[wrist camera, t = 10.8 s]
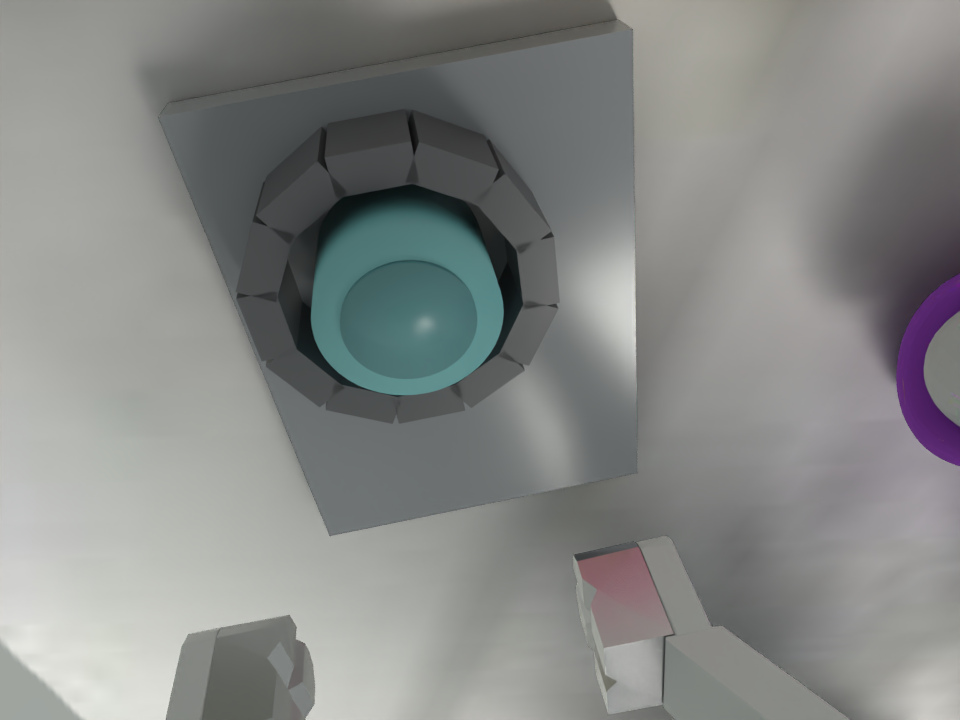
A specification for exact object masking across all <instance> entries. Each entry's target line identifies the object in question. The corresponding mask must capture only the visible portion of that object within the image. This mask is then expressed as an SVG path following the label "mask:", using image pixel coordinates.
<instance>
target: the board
mask: <svg viewBox="0 0 960 720" xmlns="http://www.w3.org/2000/svg"><path fill="white" fill-rule="evenodd" d="M401 109H405V111H406V116H407V121H409V118H410V115H411V112H412V109H413V110H415V111H418V112H421V113H424V114H427V115H429V116H432V117H435V118H438V119H440V120H443V121H446V122H449V123H452V124H454V125H457V126H460V127H463V128H466V129H468V130H471V131H474V132H477V133H479V134H482V135H484V137H485V139H486V141H488V140H489V139H490V140H491V142H492V143H493V144H494V145H495V147H496V148H497V149H498V150H499V152H500V153H501V154H502V155H503V157H504V158H505V159H506V160H507V162H508V163H509V164H510V165H511V167H512V168H513V169H514V170H515V172H516V173H517V174H518V175H519V177H520V178H521V179H522V180H523V182H524V183H525V184H526V185H527V186H528V188H529V189H530V190H531V191H532V193H533V195H534V197H535V199H536V201H537V203H538V205H539V207H540V209H541V211H542V213H543V215H544V217H545V219H546V221H547V222H548V224H549V226H550V228H551V230H552V231H551V232H552V234H553V236H554V240H555V252H556V263H557V275H558V286H559V298H560V303H556V304H557V306H558V308H559V309H558V311H557V313H556V315H555V317H554V319H553V321H552V323H551V325H550V326H549V328H548V330H547V332H546V334H545V336H544V338H543V340H542V342H541V344H540V346H539V348H538V350H537V351H536V353H535V355H534V357H533V359H532V361H531V363H530V365H529V366H528V365H524V364H523V366H524V369H525V371H523V372H522V373H520V374H519V375H518V376H516V377H515V378H513V379H512V380H511V381H509V382H508V383H506V384H505V385H503V386H502V387H501V388H499V389H498V390H496V391H495V392H493V393H492V394H491V395H489V396H488V397H486V398H485V399H484V400H482V401H481V402H479V403H478V404H476V405H475V406H474V407H472V408H470V407H469V406H468V405H467V404H466V403H465V402H464V406H465V411H461V412H456V413H451V414H446V415H441V416H436V417H431V418H426V419H421V420H416V421H411V422H406V423H401V424H399V422H398V419H397V415H396V417H395V419H394V422H393V424H390V423H385V422H381V421H376V420H371V419H366V418H361V417H357V416H352V415H347V414H342V413H337V412H332V411H328V410H326V403H325V404H323V405H322V406H321V407H318V406H317V405H316V404H314V403H313V402H312V401H310V400H309V399H308V398H306V397H305V396H304V395H302V394H301V393H300V392H299V391H297V390H296V389H295V388H293V387H292V386H291V385H289V384H288V383H287V382H285V381H284V380H283V379H281V378H280V377H279V376H277V375H276V374H275V373H273V372H272V371H271V370H269V369H268V368H267V367H266V361H261V359H260V356H259V354H258V351H257V349H256V347H255V344H254V342H253V339H252V337H251V334H250V332H249V329H248V327H247V324H246V322H245V319H244V317H243V315H242V312H241V310H240V307H239V305H238V302H237V300H236V297H237V292H236V288H237V284H238V280H239V275H240V271H241V267H242V263H243V259H244V254H245V250H246V246H247V242H248V238H249V234H250V229H251V225H252V221H253V217H254V214H255V210H256V207H257V203H258V199H259V196H260V192H261V189H262V185H263V182H265V181H266V177H267V175H268V174H270V173H271V172H272V171H273V170H274V169H275V168H276V167H277V166H278V165H279V164H281V163H282V162H283V161H284V160H285V159H286V158H287V157H288V156H289V155H291V154H292V153H293V152H294V151H295V150H296V149H297V148H298V147H299V146H300V145H302V144H303V143H304V142H305V141H306V140H307V139H308V138H309V137H310V136H311V135H313V134H314V133H315V132H316V131H317V130H318V129H319V128H320V127H322V128H323V129H324V130H325V131H326V132H327V128H328V123H332V122H337V121H343V120H348V119H353V118H359V117H364V116H369V115H375V114H380V113H385V112H391V111H396V110H401ZM158 118H159V121H160V123H161V126H162V128H163V130H164V133H165V135H166V138H167V140H168V143H169V145H170V148H171V150H172V152H173V155H174V157H175V160H176V162H177V165H178V167H179V170H180V172H181V174H182V177H183V179H184V182H185V184H186V187H187V189H188V191H189V194H190V196H191V199H192V201H193V204H194V206H195V209H196V211H197V213H198V216H199V218H200V221H201V223H202V226H203V228H204V231H205V233H206V235H207V238H208V240H209V243H210V245H211V248H212V250H213V253H214V255H215V257H216V260H217V262H218V265H219V267H220V270H221V272H222V274H223V277H224V279H225V282H226V284H227V287H228V289H229V292H230V294H231V296H232V299H233V301H234V304H235V306H236V309H237V311H238V314H239V316H240V318H241V321H242V323H243V326H244V328H245V331H246V333H247V335H248V338H249V340H250V343H251V345H252V348H253V350H254V353H255V355H256V357H257V360H258V362H259V365H260V367H261V370H262V372H263V375H264V377H265V379H266V382H267V384H268V387H269V389H270V392H271V394H272V396H273V399H274V401H275V404H276V406H277V409H278V411H279V414H280V416H281V418H282V421H283V423H284V426H285V428H286V431H287V433H288V436H289V438H290V440H291V443H292V445H293V448H294V450H295V453H296V455H297V458H298V460H299V462H300V465H301V467H302V470H303V472H304V475H305V477H306V479H307V482H308V484H309V487H310V489H311V492H312V494H313V497H314V499H315V501H316V504H317V506H318V509H319V511H320V514H321V516H322V519H323V521H324V523H325V526H326V528H327V531H328V533H329V536H332V535H337V534H342V533H347V532H352V531H357V530H362V529H367V528H371V527H376V526H381V525H386V524H391V523H396V522H401V521H406V520H411V519H415V518H420V517H425V516H430V515H435V514H440V513H445V512H450V511H455V510H459V509H464V508H469V507H474V506H479V505H484V504H489V503H494V502H499V501H503V500H508V499H513V498H518V497H523V496H528V495H533V494H538V493H543V492H547V491H552V490H557V489H562V488H567V487H572V486H577V485H582V484H587V483H591V482H596V481H601V480H606V479H611V478H616V477H621V476H626V475H631V474H635V473H638V470H637V380H636V291H635V201H634V112H633V29H632V28H630V27H629V26H627V25H626V24H624V23H623V22H621V21H620V20H614V21H609V22H603V23H598V24H592V25H587V26H582V27H576V28H571V29H565V30H560V31H555V32H549V33H544V34H538V35H533V36H528V37H522V38H517V39H511V40H506V41H500V42H495V43H490V44H484V45H479V46H473V47H468V48H463V49H457V50H452V51H446V52H441V53H436V54H430V55H425V56H419V57H414V58H409V59H403V60H398V61H392V62H387V63H382V64H376V65H371V66H365V67H360V68H355V69H349V70H344V71H338V72H333V73H328V74H322V75H317V76H311V77H306V78H301V79H295V80H290V81H284V82H279V83H274V84H268V85H263V86H257V87H252V88H246V89H241V90H236V91H230V92H225V93H219V94H214V95H209V96H203V97H198V98H192V99H187V100H182V101H176V102H171V103H168V104H167V105H166V107H165V108H164V110H163V111H162V112H161V114H160V115H159V116H158ZM463 201H464V200H463ZM464 202H465V203H466V204H467V205H468V207H469V208H470V209H471V211H472V212H473V214H474V216H475V217H476V219H477V221H478V224H479V226H480V229H481V232H482V235H483V238H484V241H485V244H486V247H487V251H488V254H489V257H490V260H491V263H492V266H493V269H494V272H495V275H496V278H497V282H498V281H499V279H500V277H501V275H502V272H503V270H504V268H505V266H506V264H507V254H506V246H505V238H504V235H503V234H502V233H501V232H500V231H499V230H498V228H497V227H496V226H495V225H494V224H493V223H492V222H491V220H490V219H489V218H488V217H487V216H486V215H485V213H484V212H483V211H482V210H481V209H480V208H479V207H478V205H476V204H473V203H470V202H467V201H464ZM333 206H334V205H333ZM333 206H332V207H333ZM332 207H331V208H332ZM331 208H330V209H328V210H327V211H326V212H325V213H324V214H323V215H321V216H320V217H319V218H318V219H317V220H316V221H315V222H313V223H312V224H311V225H310V226H309V227H308V228H306V229H305V230H304V231H303V232H302V233H301V234H299V235H298V236H297V237H296V238H295V239H294V240H293V242H292V246H291V249H290V253H289V256H288V261H289V264H290V267H291V270H292V273H293V276H294V279H295V282H296V285H297V288H298V290H299V293H300V296H301V299H302V302H304V303H305V304H306V305H307V306H308V307H310V308H311V307H312V296H313V285H314V273H315V262H316V251H317V241H318V236H319V232H320V229H321V226H322V224H323V221H324V219H325V218H326V216H327V214H328V212H329V211H330V210H331Z"/></svg>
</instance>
